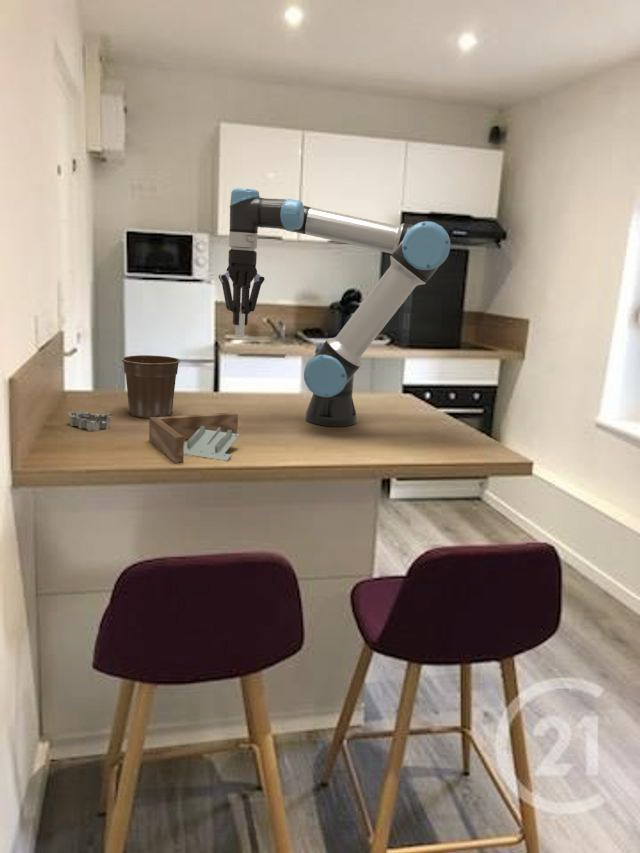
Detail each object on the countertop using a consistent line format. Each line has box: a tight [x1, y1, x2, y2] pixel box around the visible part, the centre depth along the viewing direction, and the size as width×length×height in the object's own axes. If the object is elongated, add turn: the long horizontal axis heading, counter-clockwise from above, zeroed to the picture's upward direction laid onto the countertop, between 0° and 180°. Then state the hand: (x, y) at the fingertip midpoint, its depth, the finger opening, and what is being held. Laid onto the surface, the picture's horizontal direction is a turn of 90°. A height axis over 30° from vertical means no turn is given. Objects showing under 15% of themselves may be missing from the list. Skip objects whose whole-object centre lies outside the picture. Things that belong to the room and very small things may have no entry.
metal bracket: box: [184, 426, 240, 462], centre depth 167 cm, size 14×6×15 cm
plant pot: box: [121, 354, 181, 419], centre depth 198 cm, size 16×16×16 cm
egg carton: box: [67, 410, 113, 432], centre depth 182 cm, size 11×8×4 cm
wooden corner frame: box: [148, 412, 239, 464], centre depth 169 cm, size 23×20×6 cm
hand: (239, 336), depth 191 cm, fingers closed
